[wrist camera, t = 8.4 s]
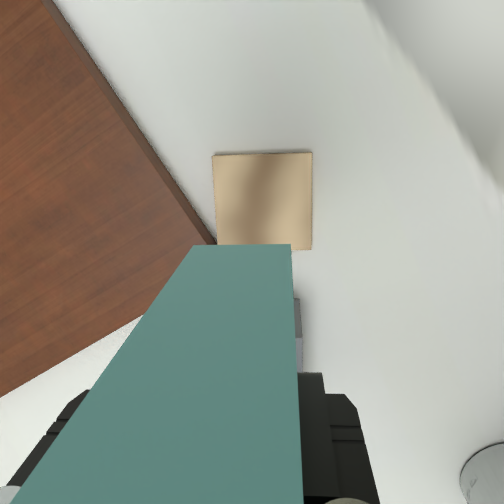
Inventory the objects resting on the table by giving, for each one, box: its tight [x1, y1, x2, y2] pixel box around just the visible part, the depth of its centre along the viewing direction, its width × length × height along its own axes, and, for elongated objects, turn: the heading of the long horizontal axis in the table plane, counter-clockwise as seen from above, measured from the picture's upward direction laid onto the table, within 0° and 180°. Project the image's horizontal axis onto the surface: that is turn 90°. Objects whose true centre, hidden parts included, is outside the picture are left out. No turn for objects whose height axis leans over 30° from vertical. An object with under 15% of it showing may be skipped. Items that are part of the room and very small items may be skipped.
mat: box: [212, 152, 312, 250], centre depth 34 cm, size 8×8×1 cm
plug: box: [10, 244, 304, 504], centre depth 11 cm, size 4×4×13 cm
